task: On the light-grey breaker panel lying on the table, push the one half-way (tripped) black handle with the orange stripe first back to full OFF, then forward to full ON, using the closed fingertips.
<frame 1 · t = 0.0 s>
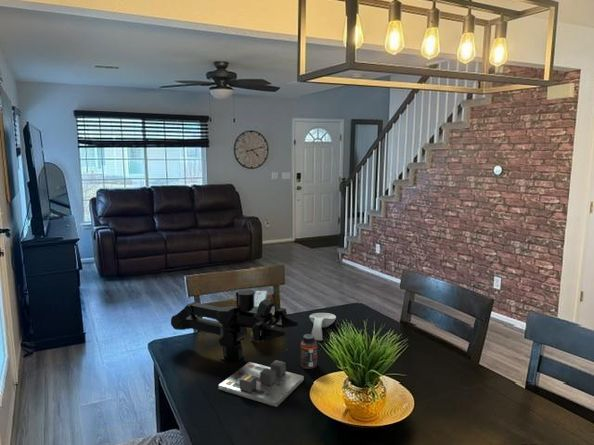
hand: (291, 328, 153), 17 cm above the table, tool horizontal, fingers open, 9 cm apart
breaker front: (248, 382, 143), point 4 cm above the table, slide at 3.5 cm
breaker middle: (268, 376, 147), point 3 cm above the table, slide at 7.0 cm
supplement bottle: (308, 366, 162), on the table
spoon rest: (320, 330, 194), on the table
snack box: (259, 331, 192), on the table
panel: (261, 384, 149), on the table
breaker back: (278, 368, 153), point 3 cm above the table, slide at 7.0 cm
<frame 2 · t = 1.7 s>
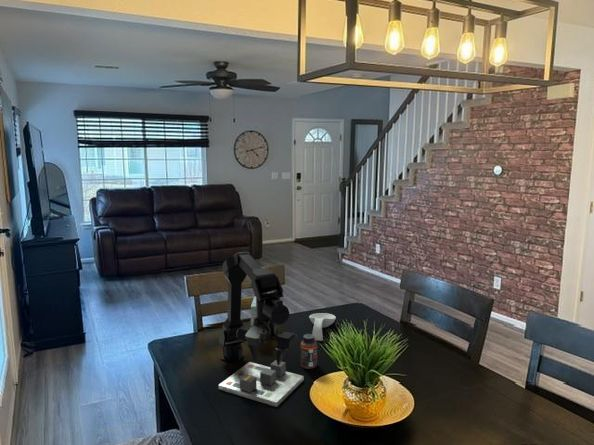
hand: (266, 361, 138), 12 cm above the table, tool pointing down, fingers open, 8 cm apart
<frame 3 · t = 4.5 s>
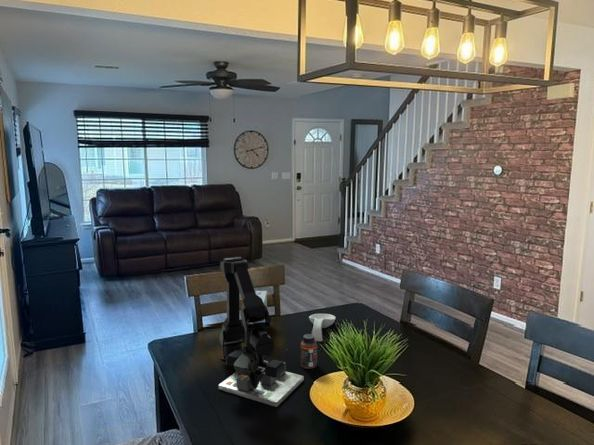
hand: (255, 388, 142), 2 cm above the table, tool pointing down, fingers closed
breaker front: (245, 382, 143), point 4 cm above the table, slide at 2.4 cm, touching gripper
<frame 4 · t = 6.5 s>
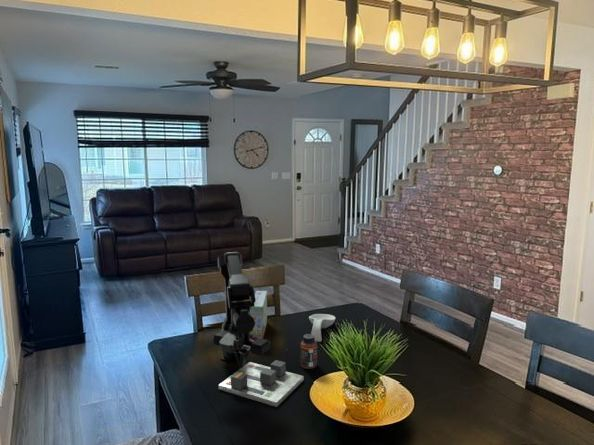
hand: (241, 367, 143), 8 cm above the table, tool pointing down, fingers closed
breaker front: (239, 380, 144), point 4 cm above the table, slide at 0.0 cm
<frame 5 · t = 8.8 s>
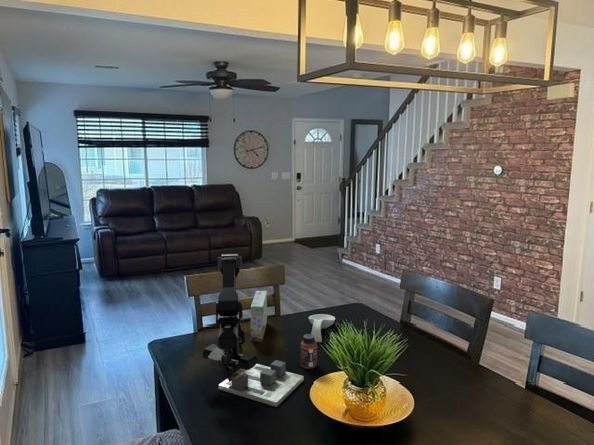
hand: (230, 380, 146), 3 cm above the table, tool pointing down, fingers closed
breaker front: (239, 380, 144), point 4 cm above the table, slide at 0.3 cm, touching gripper
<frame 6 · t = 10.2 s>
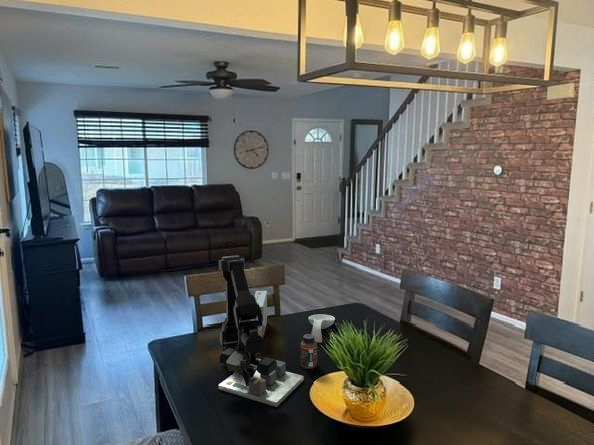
hand: (248, 385, 143), 3 cm above the table, tool pointing down, fingers closed
breaker front: (257, 385, 141), point 4 cm above the table, slide at 7.1 cm, touching gripper
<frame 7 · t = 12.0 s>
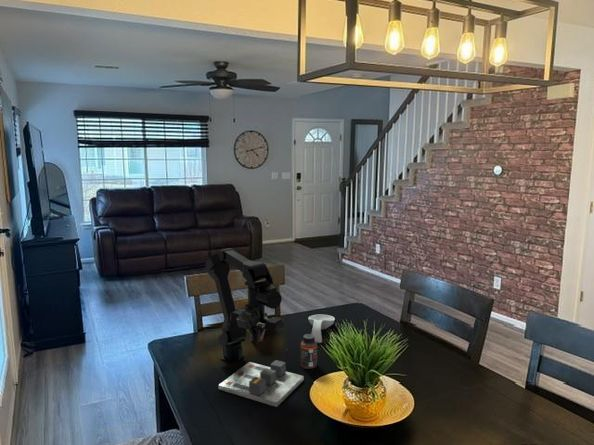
hand: (256, 343, 154), 11 cm above the table, tool pointing down, fingers closed
breaker front: (257, 385, 141), point 4 cm above the table, slide at 7.0 cm
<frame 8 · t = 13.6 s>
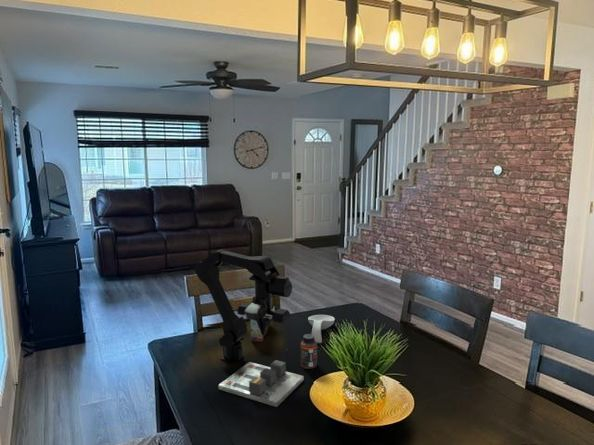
hand: (263, 335, 159), 12 cm above the table, tool pointing down, fingers closed
at the end: breaker front slide at 7.0 cm; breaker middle slide at 7.0 cm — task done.
